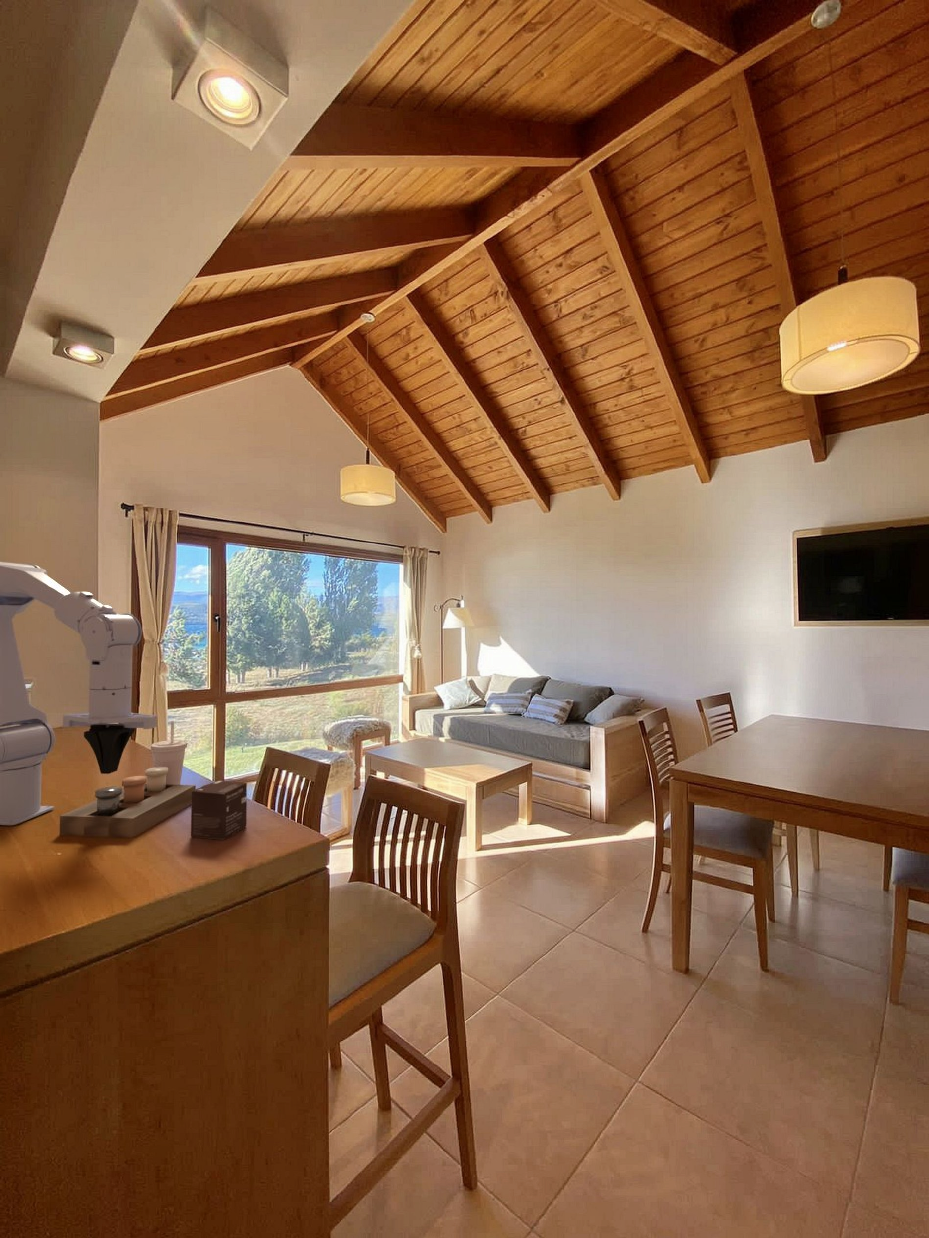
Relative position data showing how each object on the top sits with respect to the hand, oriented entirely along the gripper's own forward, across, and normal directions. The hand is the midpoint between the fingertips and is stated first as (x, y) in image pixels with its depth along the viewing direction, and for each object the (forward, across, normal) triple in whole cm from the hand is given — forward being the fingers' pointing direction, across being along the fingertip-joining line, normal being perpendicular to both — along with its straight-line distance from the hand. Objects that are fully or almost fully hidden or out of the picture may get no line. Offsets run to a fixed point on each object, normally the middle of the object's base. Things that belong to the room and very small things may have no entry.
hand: (109, 772), depth 84 cm
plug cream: (+7, 0, +12) cm, 14 cm away
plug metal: (+7, 0, 0) cm, 7 cm away
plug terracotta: (+7, 0, +6) cm, 9 cm away
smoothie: (+10, -2, +19) cm, 21 cm away
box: (+10, +18, +1) cm, 20 cm away
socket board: (+9, 0, +6) cm, 11 cm away
